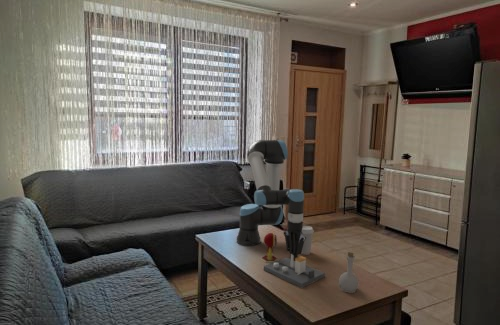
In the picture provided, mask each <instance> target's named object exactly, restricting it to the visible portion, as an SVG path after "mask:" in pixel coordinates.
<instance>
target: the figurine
mask: <svg viewBox="0 0 500 325" xmlns="http://www.w3.org/2000/svg"><path fill="white" fill-rule="evenodd" d="M277 240H278V238H277V235H276V234H275V233H273V232H268V233H267V234H266V235H265V236H264V237H263V243H264V244H265V245H266V247H267V248H266V255H264V256H262V257H260V261H262V262H264V263H266V264H271V263H273V262H276V261H279V258H278V257H276V256H275V255H273V254H274V251H273V250H274V249H273V248H275V247H276V246H277Z"/></svg>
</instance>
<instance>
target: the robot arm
mask: <svg viewBox="0 0 500 325" xmlns="http://www.w3.org/2000/svg"><path fill="white" fill-rule="evenodd" d="M288 154H289V153H288V146H287V144H286V141H284V140H279V139H260V140H256V141H254V142H252V143H251V144H250V146H249V147H248V149H247V152H246V159H247V162H248V163H249V164H250V167H251V171H252V175H253V180H254V184H255V188H256V190H255V191H254V194H253V199H254V203H247V204H244V205H242V206H240V209H239V230H238V232H237V233H238V234H237V236H236V243H237V244H239V245H242V246H248V247H249V246H257V245H259V244H260V243H261V240H262V239H261V236H260V232H259V226H274V225H275V226H276V225H280V223H282V221H283V217H284V209H283V207H282V205H283V206H285V205H286V206H287V226H286V227H287V230H286V231H283V235H284V240H285V247H286V251H287V252H289V258H290V259H291V265H290V267H295V258H297V257H299V255H302V254H301V252H302V248H303V244H304V241H305V240H306V237H304V236H303V235H302V228H303V226H304V225H303V224H304V222H303V221H304V204H305V192H304V190H302V189H299V188H298V189H297V188H293V189H290V188H284V189H281V190H280V182H281V168H282V165H283V164H284V160H287V159H288ZM265 164H266V166H265ZM299 240H300V241H299Z"/></svg>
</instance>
